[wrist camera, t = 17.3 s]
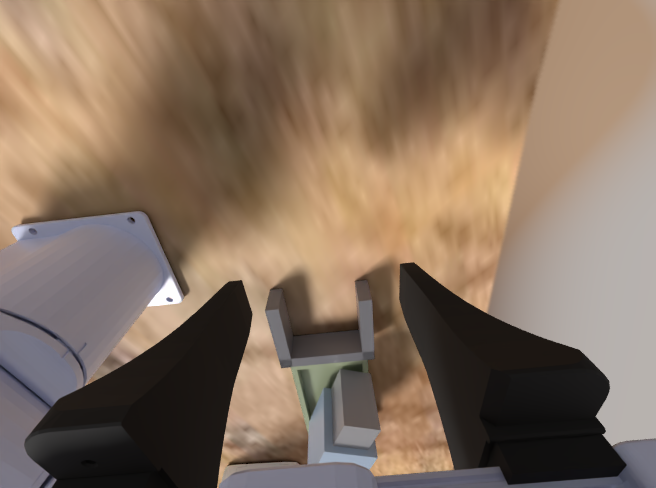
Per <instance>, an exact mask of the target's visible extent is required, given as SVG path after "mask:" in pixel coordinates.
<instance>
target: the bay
mask: <svg viewBox="0 0 656 488" xmlns="http://www.w3.org/2000/svg"><path fill="white" fill-rule="evenodd" d="M355 288H356V301H357V314H358V327H359V330H351V331H341V332H331V333H320V334H310V335H300V336H293V332H292V328H291V324H290V320H289V315H288V311H287V307H286V303H285V298H284V294H283V290H282V289H273V290H270V293H269V297H268V301H267V305H266V309H265V312H266V316H267V319H268V323H269V326H270V330H271V333H272V337H273V340H274V344H275V347H276V351H277V354H278V358H279V361H280V365H281V368H286V367H297V366H308V365H318V364H329V363H340V362H350V361H361V360H372V359H375V356H374V333H373V309H372V298H371V293H370V289H369V285H368V281H367V280H361V281H355Z"/></svg>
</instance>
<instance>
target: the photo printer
mask: <svg viewBox="0 0 656 488" xmlns="http://www.w3.org/2000/svg"><path fill="white" fill-rule="evenodd" d="M292 465H300V464H299V463H297V462H274V463H256V464H239V465H230V466H227V467H226V468H225V471H224V474H223V478H222V482H223V481H224V480H225V479H226V478H228V477H229V476H230V475H231V474H233V473H235V472H239V471H243V470H248V469H256V468H268V467H280V466H292Z"/></svg>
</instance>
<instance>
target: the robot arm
mask: <svg viewBox="0 0 656 488" xmlns="http://www.w3.org/2000/svg"><path fill="white" fill-rule="evenodd" d="M130 217H132V218H134V220H135V222H134V221H132V220H131V218H130ZM34 229H35V230H36V231H35V230H34ZM12 233H13V235H14V236H15V238H16V239H17V240H18V242H16V243H14V244H12V245H10V246H8V247H6V248H4V249H2V250H0V488H217V483H218V475H219V467H220V460H221V454H222V447H223V440H224V434H225V428H226V423H227V417H228V411H229V406H230V401H231V396H232V391H233V387H234V383H235V379H236V376H237V373H238V370H239V367H240V363H241V360H242V357H243V354H244V350H245V347H246V344H247V340H248V337H249V333H250V327H251V321H252V311H251V308H250V305H249V301H248V298H247V295H246V292H245V289H244V286H243V282H242V280H240V281H230V282H228V283H227V284H225V285H224V286H223V287H222V288H221V289H220V290H219V291H218V292H217V293H216V294H215V295H214V296H213V297H212V298H211V299H210V300H209V301H207V302H206V303H205V304H204V305H203V306H202V307H201V308H200V309H199V310H198V311H197V312H196V313H195V314H193V315H192V316H191V317H190V318H189V319H188V320H186V321H185V322H184V323H183V324H182V325H181V326H180V327H178V328H177V329H176V330H175V331H173V332H172V333H171V334H169V335H168V336H167V337H165V338H164V339H163V340H161V341H160V342H159V343H157V344H156V345H154V346H153V347H151V348H150V349H148V350H147V351H145V352H144V353H142V354H141V355H139V356H138V357H136V358H134V359H133V360H131V361H130V362H128V363H126V364H125V365H123V366H121V367H120V368H118V369H116V370H114V371H113V372H111V373H109V374H107V375H105V376H104V377H102V378H100V379H98V380H96V381H94V382H92V383H90V384H88V385H86V383H87V382H88V381H89V380H90V378H91V377H92V376H93V375H94V373H95V372H96V371H97V369H98V368H99V367H100V366H101V364H102V363H103V362H104V361H105V359H106V358H107V357H108V356H109V354H110V353H111V352H112V350H113V349H114V348H115V347H116V345H117V344H118V343H119V342H120V340H121V339H122V338H123V336H124V335H125V334H126V333H127V331H128V330H129V329H130V328H131V326H132V325H133V324H134V322H135V321H136V320H137V319H138V317H139V316H140V315H141V314H142V312H143V311H144V310H145V308H146V307H147V306H157V305H167V304H177V303H181V302H182V300H183V299H184V295H183V293H182V291H181V289H180V287H179V284H178V282H177V280H176V278H175V275H174V273H173V271H172V269H171V267H170V264H169V262H168V260H167V258H166V256H165V253H164V251H163V249H162V247H161V245H160V242H159V240H158V238H157V236H156V234H155V231H154V229H153V227H152V225H151V223H150V220H149V218H148V216H147V215H146V214H145V213H144V212H141V211H135V212H126V213H117V214H108V215H99V216H90V217H82V218H73V219H64V220H55V221H46V222H37V223H29V224H20V225H17V226H14V227H13V228H12ZM169 297H171V298H172V299H171V298H169ZM399 300H400V303H401V307H402V311H403V314H404V318H405V321H406V323H407V325H408V328H409V330H410V333H411V335H412V337H413V340H414V342H415V344H416V347H417V349H418V351H419V354H420V356H421V358H422V361H423V363H424V366H425V369H426V371H427V374H428V377H429V381H430V384H431V387H432V390H433V393H434V397H435V400H436V404H437V407H438V410H439V414H440V417H441V421H442V424H443V428H444V432H445V435H446V439H447V442H448V446H449V450H450V454H451V458H452V461H453V465H454V469H455V470H450V471H438V472H425V473H413V474H401V475H388V476H376V477H374V476H373V474H372V473H371V471H370V470H368V469H367V468H365V467H363V466H360V465H358V464H355V463H346V462H329V463H317V464H305V465H292V466H280V467H268V468H256V469H248V470H243V471H239V472H235V473H233V474H231V475H230V476H229V477H228V478H226V479H225V480H224V481H223V482H221V483H220V485H219V488H656V439H644V440H632V441H625V442H620V443H618V444H615V445H613V446H611V445H610V444H609V442H608V441H607V440H606V439H605V437H604V436H603V435H602V434H604V433H605V432H606V430H605V428H604V426H603V425H602V424H601V423H600V421H599V420H598V419H597V418H596V417H595V416H596V415H597V413H598V411H599V410H600V408H601V406H602V404H603V403H604V401H605V400H606V398H607V396H608V393H609V389H610V386H609V380H608V379H607V377H606V376H605V375H604V374H603V373H602V372H601V371H600V370H599V369H598V368H597V367H596V366H595V365H594V364H593V363H592V362H591V361H590V360H589V359H588V358H587V357H586V356H585V355H584V354H583V353H582V352H581V351H580V350H578V349H575V348H572V347H569V346H566V345H563V344H560V343H556V342H553V341H550V340H547V339H544V338H542V337H539V336H536V335H534V334H531V333H529V332H526V331H523V330H521V329H519V328H516V327H514V326H512V325H510V324H507V323H505V322H503V321H501V320H499V319H497V318H495V317H493V316H491V315H489V314H487V313H485V312H483V311H481V310H480V309H478V308H476V307H474V306H473V305H471V304H469V303H467V302H466V301H464V300H463V299H461V298H460V297H458V296H457V295H455V294H454V293H452V292H451V291H449V290H448V289H447V288H445V287H444V286H443V285H441V284H440V283H439V282H437V281H436V280H435V279H433V278H432V277H431V276H430V275H428V274H427V273H426V272H425V271H424V270H422V269H421V268H420V267H419V266H418V265H416V264H415V263H414V262H413V263H403V264H400V293H399ZM85 385H86V386H85Z"/></svg>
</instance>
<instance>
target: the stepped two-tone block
mask: <svg viewBox="0 0 656 488" xmlns="http://www.w3.org/2000/svg"><path fill="white" fill-rule="evenodd" d="M380 431H381V429H380V423H379V418H378V412H377V406H376V401H375V395H374V389H373V384H372V378H371V374H369V373H363V372H357V371H351V370H345V369H340V370H339V372H338V374H337V377H336V379H335V381H334V383H333V386H332V388H331V389H330V388H323V390H322V393H321V395H320V397H319V400H318V402H317V404H316V407H315V409H314V412H313V414H312V416H311V419H310V421H309V436H308V464H317V463H329V462H346V463H355V464H358V465H360V466H363V467H365V468H367V469H368V470H369V469H370V468H371V467H372V465H373V464H374V462H375V461H376V459H377V451H376V445H375V439H376V437H377V435H378V434H379V432H380Z"/></svg>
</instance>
